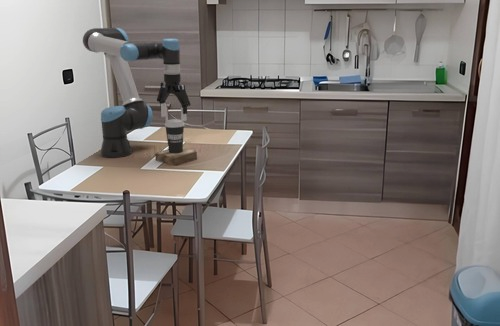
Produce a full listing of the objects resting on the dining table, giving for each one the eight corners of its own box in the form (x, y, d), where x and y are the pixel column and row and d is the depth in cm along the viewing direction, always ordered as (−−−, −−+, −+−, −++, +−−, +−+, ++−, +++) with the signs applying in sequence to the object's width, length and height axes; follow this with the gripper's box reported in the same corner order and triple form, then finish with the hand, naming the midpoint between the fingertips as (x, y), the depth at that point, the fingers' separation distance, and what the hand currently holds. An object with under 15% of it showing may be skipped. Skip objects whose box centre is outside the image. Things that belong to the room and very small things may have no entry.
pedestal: (155, 160, 235) (155, 152, 234) (176, 154, 246) (176, 146, 245) (175, 165, 227) (175, 157, 226) (196, 158, 237) (196, 150, 236)
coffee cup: (161, 153, 233) (160, 122, 228) (172, 148, 241) (170, 118, 237) (179, 155, 229) (178, 123, 225) (189, 150, 238) (188, 119, 233)
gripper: (147, 71, 229) (150, 116, 235) (185, 76, 214) (186, 123, 221) (159, 70, 235) (161, 114, 241) (197, 74, 220) (198, 121, 226)
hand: (173, 118), depth 231 cm, fingers open, 13 cm apart
